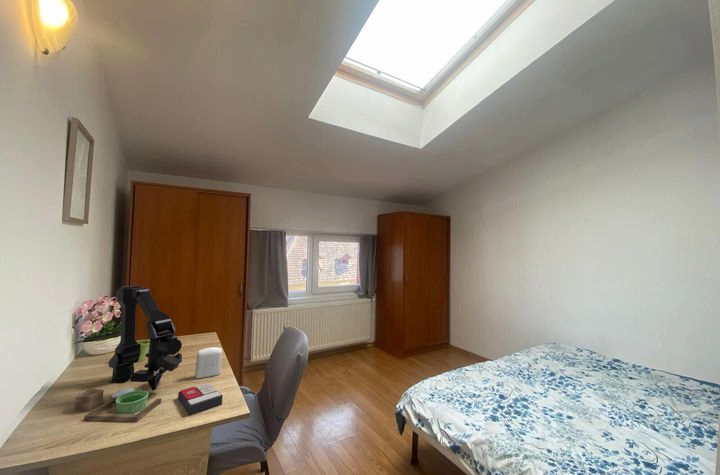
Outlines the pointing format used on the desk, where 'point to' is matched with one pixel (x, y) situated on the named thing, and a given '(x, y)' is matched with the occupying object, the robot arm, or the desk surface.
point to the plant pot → (143, 349)
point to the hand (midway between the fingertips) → (154, 389)
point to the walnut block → (89, 400)
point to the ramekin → (131, 402)
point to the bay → (99, 416)
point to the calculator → (199, 398)
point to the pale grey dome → (122, 392)
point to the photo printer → (208, 362)
